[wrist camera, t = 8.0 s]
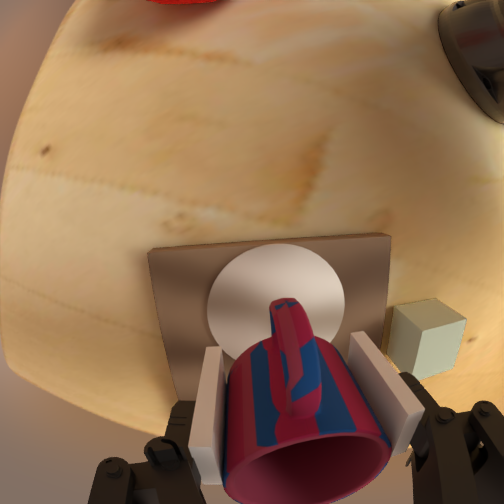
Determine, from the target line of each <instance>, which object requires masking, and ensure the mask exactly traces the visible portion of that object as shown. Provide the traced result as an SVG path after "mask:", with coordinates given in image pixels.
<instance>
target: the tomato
mask: <svg viewBox="0 0 504 504" xmlns="http://www.w3.org/2000/svg"><path fill="white" fill-rule="evenodd" d="M148 1H152V2H156V3H160V4H193V3H206V2H213V1H217V0H148Z"/></svg>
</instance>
